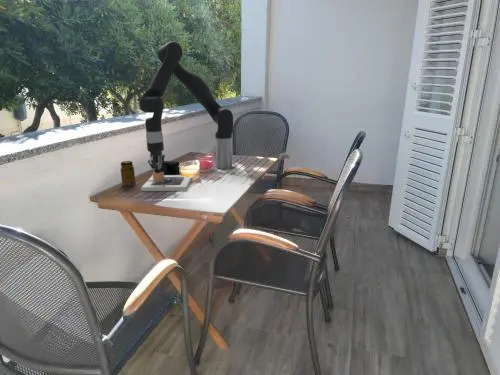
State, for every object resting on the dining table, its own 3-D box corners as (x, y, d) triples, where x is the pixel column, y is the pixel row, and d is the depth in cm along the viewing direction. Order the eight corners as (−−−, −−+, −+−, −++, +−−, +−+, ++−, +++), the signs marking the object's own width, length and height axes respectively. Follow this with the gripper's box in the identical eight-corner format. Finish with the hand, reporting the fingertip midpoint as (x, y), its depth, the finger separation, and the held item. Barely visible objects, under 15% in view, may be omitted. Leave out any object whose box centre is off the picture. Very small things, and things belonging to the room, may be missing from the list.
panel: (192, 179, 179) (192, 174, 178) (186, 192, 160) (185, 186, 159) (152, 180, 179) (152, 175, 178) (142, 192, 160) (141, 186, 159)
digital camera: (157, 175, 188) (156, 162, 186) (162, 172, 193) (161, 160, 191) (175, 176, 185) (174, 163, 183) (179, 174, 190) (179, 161, 188)
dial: (180, 180, 175) (179, 168, 173) (179, 187, 165) (179, 174, 163) (154, 181, 173) (153, 169, 171) (152, 188, 163) (151, 175, 161)
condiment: (124, 184, 173) (122, 160, 169) (142, 184, 173) (139, 160, 169) (119, 188, 166) (116, 163, 162) (137, 188, 166) (134, 163, 162)
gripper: (154, 137, 171) (157, 172, 177) (140, 143, 159) (144, 179, 165) (168, 138, 170) (171, 172, 175) (155, 143, 158) (159, 180, 163)
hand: (158, 176), depth 170 cm, fingers closed
